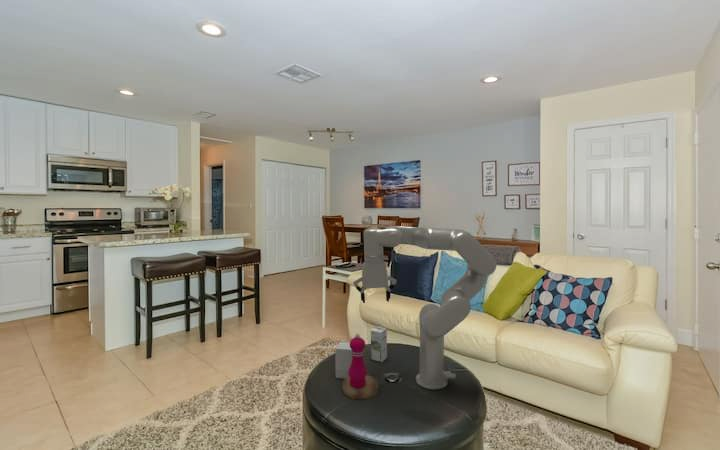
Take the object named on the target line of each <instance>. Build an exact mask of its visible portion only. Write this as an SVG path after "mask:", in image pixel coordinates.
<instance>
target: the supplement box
mask: <svg viewBox="0 0 720 450" xmlns="http://www.w3.org/2000/svg"><path fill="white" fill-rule="evenodd" d="M351 350H352V349H351V348H350V342H344V341H343V342H341V341H340V342H338V344H337V345H336V347H335V349H334V351H335V355H334V356H335V357H334V358H335V366H334V367H335V378H336V379H343V380H344V379H346V378H347V377H349V375H348V372H349V368H350V365H351V363H352V355H351Z"/></svg>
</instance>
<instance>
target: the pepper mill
mask: <svg viewBox="0 0 720 450" xmlns="http://www.w3.org/2000/svg"><path fill="white" fill-rule="evenodd" d="M349 343H350V348H351V349H352V350H351V355H352V363H351V365H350V368H349V372H348V375H349V377H350V385H351V386H352V387H354V388H361V387H364V386H365V385H366V379H365V377H366V376H367V375H368V371H367V367H366V365H365V363H364V354H365V350H364V349H365V348H366V342H365V340H364V339H363V338H362V337H361V336H360V334H359V333H356V334H355V336H354V337H353V338H351V339H350V341H349Z"/></svg>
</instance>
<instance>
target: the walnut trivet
mask: <svg viewBox="0 0 720 450" xmlns="http://www.w3.org/2000/svg"><path fill="white" fill-rule="evenodd" d="M365 379H366V385H365V386H364V387H361V388H354V387H352V386H351V385H350V377H347V378H346V379H344V378H343V380H342V387H341V388H342V394H343V395H345V396H346V397H347V398H350V399H353V400H367V399H370V398H373V397H375V396H376V395H377V394H378V392H379V381H378V379H376V377H374V376H371V375H369V374H367V376H366V377H365Z"/></svg>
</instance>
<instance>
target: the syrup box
mask: <svg viewBox="0 0 720 450" xmlns="http://www.w3.org/2000/svg"><path fill="white" fill-rule="evenodd" d="M387 330H388V329H387V327H386V328H385V327H381V326H378V325H377V326H374V327H372V328H371V329H370V360H371V361H375V362H379V363H383V362H384V361H385V360H386V359H387V358H388V352H387V351H388V348H387V347H388V346H387V345H388V341H387V340H388V339H387V338H388V336H387V335H388V334H387V333H388V331H387Z"/></svg>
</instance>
